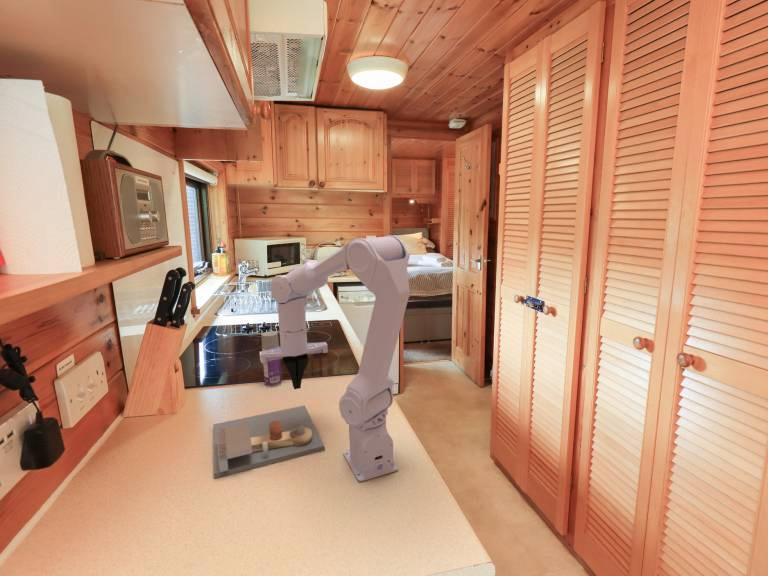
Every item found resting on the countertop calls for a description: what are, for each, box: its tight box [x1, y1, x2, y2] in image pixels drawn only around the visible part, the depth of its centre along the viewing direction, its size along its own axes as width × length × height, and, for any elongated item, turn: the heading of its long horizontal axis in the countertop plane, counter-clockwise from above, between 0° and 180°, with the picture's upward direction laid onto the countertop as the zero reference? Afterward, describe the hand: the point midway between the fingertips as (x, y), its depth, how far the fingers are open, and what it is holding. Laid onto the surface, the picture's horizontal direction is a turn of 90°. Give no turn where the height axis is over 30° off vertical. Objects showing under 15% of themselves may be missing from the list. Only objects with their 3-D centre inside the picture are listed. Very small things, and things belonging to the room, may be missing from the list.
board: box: [212, 405, 326, 479], centre depth 85 cm, size 19×21×4 cm
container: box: [260, 330, 283, 388], centre depth 112 cm, size 5×5×15 cm
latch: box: [250, 421, 312, 452], centre depth 81 cm, size 15×5×4 cm, turn 107°
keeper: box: [217, 423, 252, 478], centre depth 79 cm, size 10×6×4 cm, turn 23°
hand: (296, 387), depth 88 cm, fingers closed
